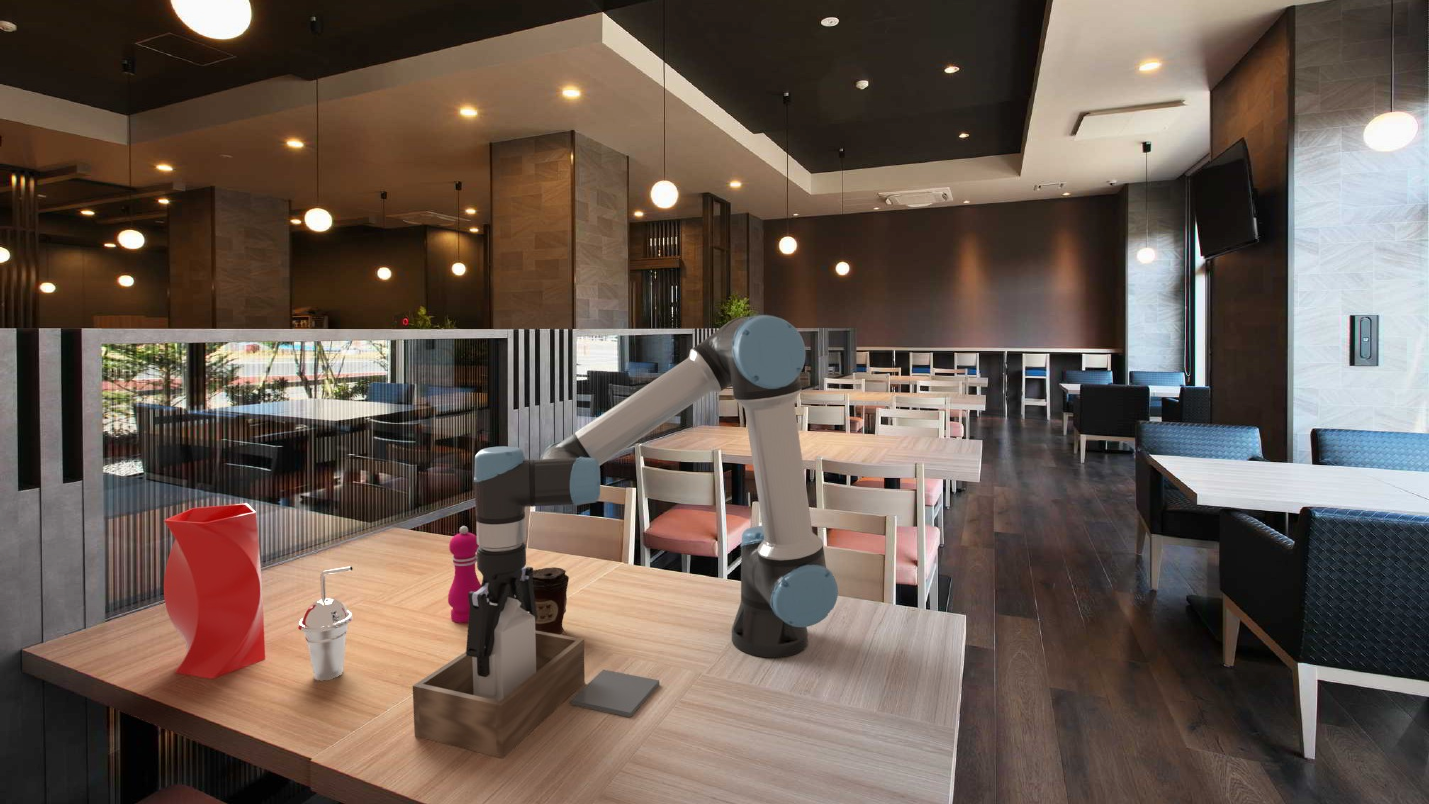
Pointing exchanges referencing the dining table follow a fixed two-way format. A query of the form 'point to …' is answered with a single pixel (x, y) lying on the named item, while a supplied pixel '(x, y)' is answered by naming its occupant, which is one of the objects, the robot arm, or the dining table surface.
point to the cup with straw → (326, 632)
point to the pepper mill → (463, 574)
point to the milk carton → (511, 650)
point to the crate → (490, 723)
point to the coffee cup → (550, 599)
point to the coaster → (615, 693)
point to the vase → (216, 589)
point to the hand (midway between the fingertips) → (505, 679)
